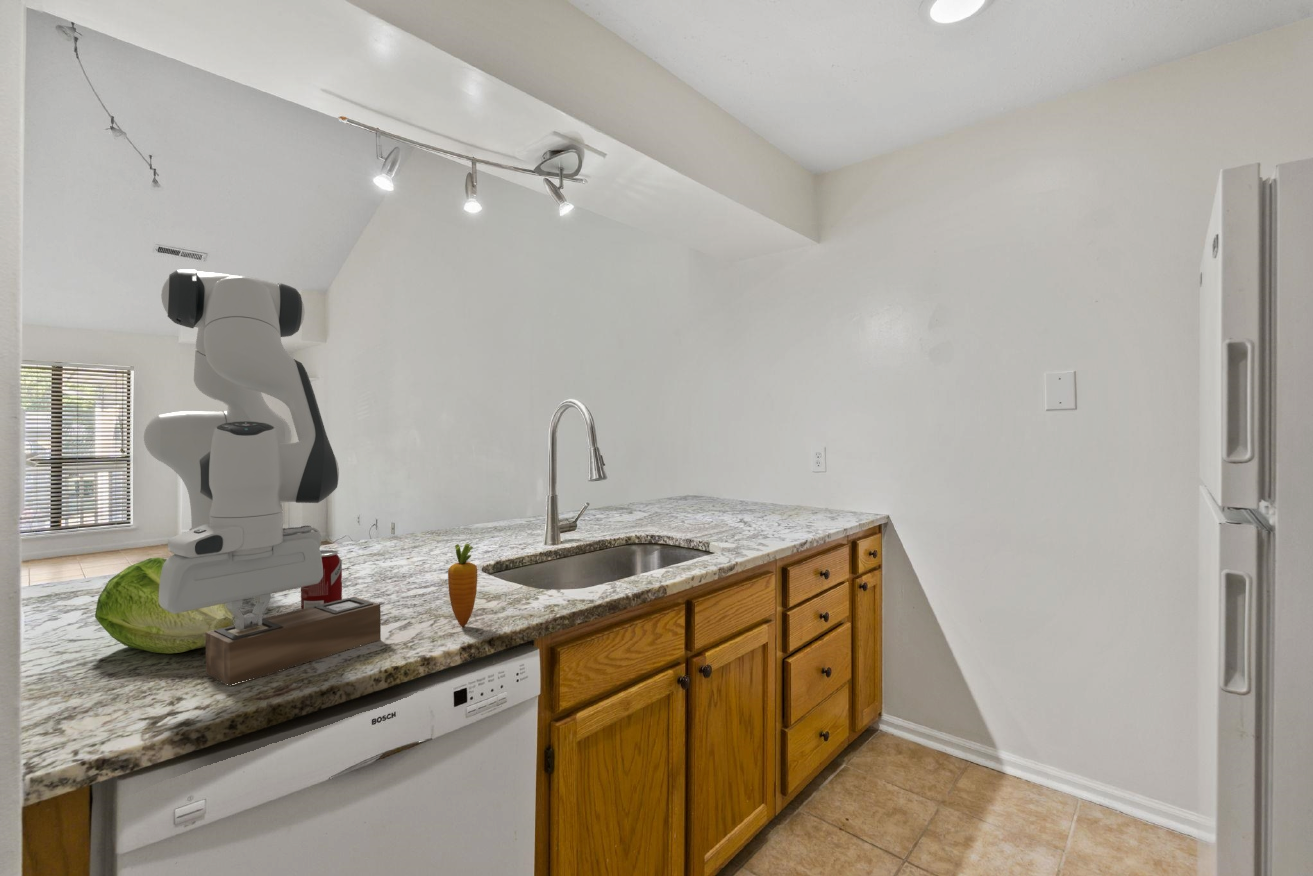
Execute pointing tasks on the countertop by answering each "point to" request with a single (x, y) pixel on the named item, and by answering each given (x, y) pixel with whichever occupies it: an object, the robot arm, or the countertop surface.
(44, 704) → the countertop surface
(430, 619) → the countertop surface
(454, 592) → the carrot
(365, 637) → the walnut block
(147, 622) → the lettuce
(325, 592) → the soda can
